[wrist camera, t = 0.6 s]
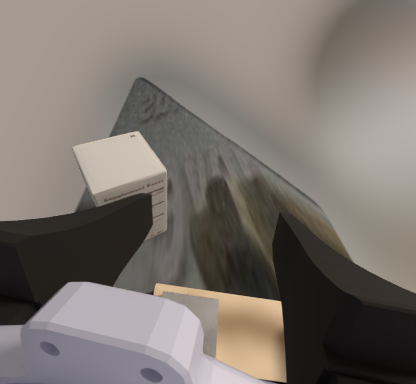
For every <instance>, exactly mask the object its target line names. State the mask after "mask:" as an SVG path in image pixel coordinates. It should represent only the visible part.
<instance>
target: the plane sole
mask: <svg viewBox="0 0 416 384" xmlns="http://www.w3.org/2000/svg"><path fill="white" fill-rule="evenodd" d="M163 291H167V292H174V293H181V294H188V295H195V296H201V297H208V298H215V299H219V312H218V329H217V346H216V358H215V359H217V360H219V361H221V362H223V363H225V364H227V365H230V366H232V367H234V368H236V369H238V370H240V371H242V372H244V373H246V374H249V375H251V376H253V377H255V378H257V379H261V380H268V381H276V382H284V383H287V380H286V359H285V342H284V327H283V315H282V305H281V301H274V300H267V299H260V298H253V297H246V296H240V295H233V294H226V293H219V292H212V291H205V290H199V289H192V288H185V287H178V286H171V285H164V284H158V283H156V286H155V290H154V294H153V295H154V296H159V297H162V292H163Z"/></svg>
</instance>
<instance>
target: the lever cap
mask: <svg viewBox="0 0 416 384" xmlns="http://www.w3.org/2000/svg"><path fill="white" fill-rule="evenodd" d="M162 297H163V298H168V299H170V300H173V301H175V302H178V303H180V304H183V305H185V306H186V307H187V308H188V309H189V310H190V311H191V312H192V313H194V314H195V315H196V316H197V317H198V319H199V320H200V322H201V326H202V329H203V333H204V340H203V353H204V354H206V355H208V356H211V357H213V358H216V346H217V329H218V312H219V299H215V298H208V297H201V296H195V295H188V294H181V293H174V292H167V291H163V292H162Z"/></svg>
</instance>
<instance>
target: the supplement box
mask: <svg viewBox="0 0 416 384" xmlns="http://www.w3.org/2000/svg"><path fill="white" fill-rule="evenodd" d="M72 150H73V153H74V156H75V158H76V161H77V164H78V166H79V169H80V171H81V174H82V176H83V179H84V181H85V183H86V186H87V188H88V190H89V193H90V195H91V197H92V199H93V201H94V204H95V206H96V207H99V206H102V205H105V204H108V203H111V202H114V201H117V200H120V199H123V198H126V197H129V196H132V195H135V194H139V193H146V194H152V213H153V226H152V228H151V230H150V232H149V233H148V235H147V237H146V239H145V240H144V241H146V240H148V239H150V238H152V237H154V236H156V235H158V234H160V233H163V232H165V231H166V230H167V170H166V168H165V167H164V165H163V164H162V163H161V162H160V160H159V159H158V157H157V156H156V155H155V153H154V152H153V150H152V149H151V147H150V146H149V145H148V144H147V142H146V141H145V140H144V138H143V137H142V135H141V134H140V132H138V131H137V132H131V133H127V134H122V135H118V136H114V137H110V138H106V139H102V140H98V141H93V142H89V143H85V144H81V145H77V146H74V147H72Z"/></svg>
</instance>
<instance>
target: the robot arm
mask: <svg viewBox="0 0 416 384" xmlns="http://www.w3.org/2000/svg"><path fill="white" fill-rule="evenodd" d="M152 226H153V213H152V194H146V193H139V194H135V195H132V196H129V197H126V198H123V199H120V200H117V201H114V202H111V203H108V204H105V205H102V206H99V207H95V208H92V209H88V210H85V211H80V212H76V213H71V214H66V215H60V216H54V217H49V218H39V219H30V220H18V221H0V384H277V383H273V382H269V381H265V380H261V379H257V378H255V377H253V376H251V375H249V374H246V373H244V372H242V371H240V370H238V369H236V368H234V367H232V366H230V365H227V364H225V363H223V362H221V361H219V360H217V359H215V358H213V357H211V356H208V355H206V354H204V353H203V340H204V333H203V329H202V326H201V322H200V320H199V319H198V317H197V316H196V315H195V314H194V313H192V312H191V311H190V310H189V309H188V308H187V307H186V306H185V305H183V304H180V303H178V302H175V301H173V300H170V299H168V298H163V297H159V296H154V295H149V294H144V293H139V292H135V291H130V290H125V289H120V288H115V287H113V285H114V283H115V281H116V280H117V278H118V276H119V275H120V273H121V272H122V270H123V269H124V267H125V266H126V265H127V263H128V262H129V260H130V259H131V258H132V256H133V255H134V254H135V252H136V251H137V250H138V248H139V247H140V246H141V244H142V243H143V242H144V240H145V239H146V237H147V235H148V233H149V232H150V230H151V228H152ZM272 247H273V262H274V267H275V272H276V277H277V283H278V288H279V293H280V298H281V305H282V315H283V327H284V342H285V359H286V380H287V384H416V293H413V292H410V291H408V290H406V289H403V288H401V287H399V286H397V285H395V284H393V283H391V282H389V281H387V280H384V279H382V278H380V277H378V276H377V275H375V274H373V273H371V272H369V271H367V270H365V269H364V268H362V267H360V266H358V265H357V264H355V263H353V262H352V261H350V260H348V259H347V258H345V257H344V256H342V255H341V254H339V253H338V252H336V251H335V250H333V249H332V248H331V247H329V246H328V245H327V244H326V243H324V242H323V241H322V240H320V239H319V238H318V237H317V236H316V235H314V234H313V233H312V232H311V231H310V230H309V229H308V228H307V227H306V226H304V225H303V224H302V223H301V222H300V221H299V220H298V219H297V218H296V217H295V216H293V215H292V214H287V213H279V217H278V222H277V226H276V230H275V235H274V239H273V243H272Z"/></svg>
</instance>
